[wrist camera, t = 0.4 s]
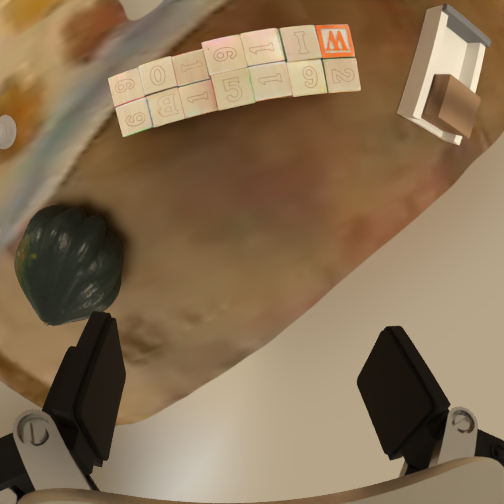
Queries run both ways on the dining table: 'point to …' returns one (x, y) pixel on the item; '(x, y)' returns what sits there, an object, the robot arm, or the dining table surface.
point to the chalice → (7, 131)
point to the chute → (442, 62)
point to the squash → (68, 264)
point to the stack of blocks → (236, 74)
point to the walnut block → (451, 105)
